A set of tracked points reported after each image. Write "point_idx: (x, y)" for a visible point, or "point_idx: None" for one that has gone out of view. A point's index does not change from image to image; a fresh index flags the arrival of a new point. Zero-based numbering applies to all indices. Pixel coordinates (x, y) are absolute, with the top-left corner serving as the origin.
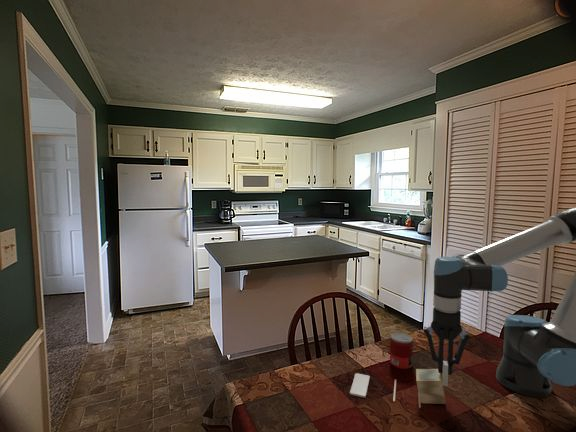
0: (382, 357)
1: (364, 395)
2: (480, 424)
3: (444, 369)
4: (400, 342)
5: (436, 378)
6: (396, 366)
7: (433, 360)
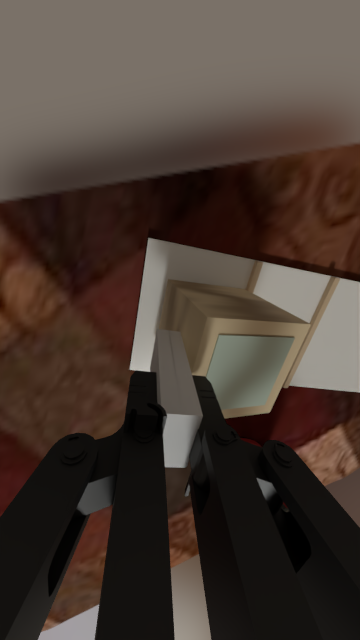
0: None
1: None
2: (55, 211)
3: (184, 387)
4: None
5: (222, 340)
6: (257, 445)
7: (280, 442)
